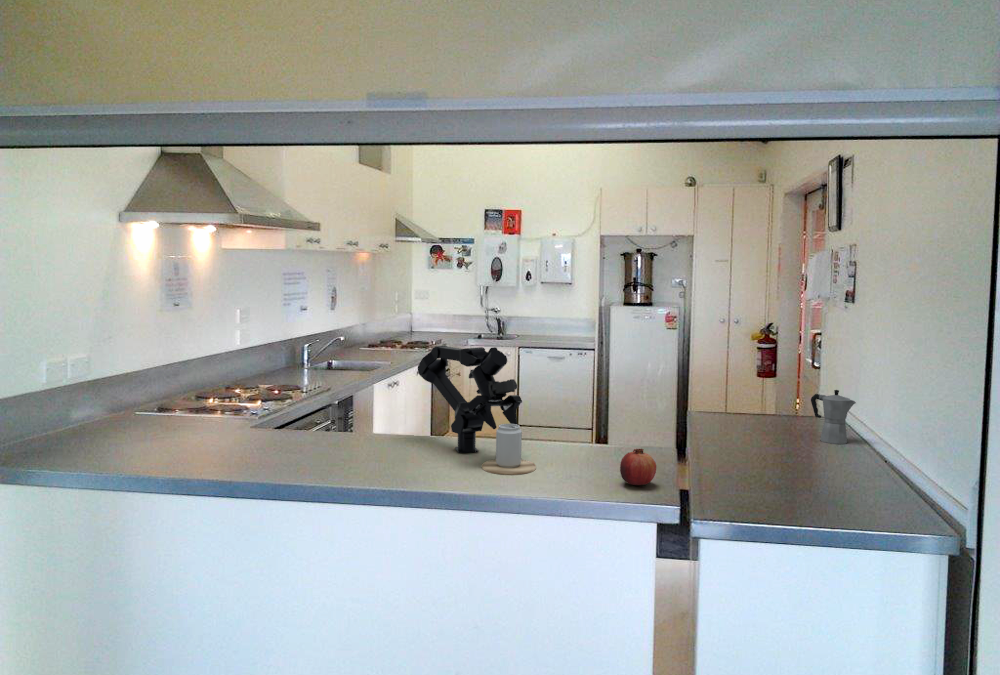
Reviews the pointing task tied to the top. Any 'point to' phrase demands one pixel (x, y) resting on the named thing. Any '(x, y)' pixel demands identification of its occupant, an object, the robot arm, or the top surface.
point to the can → (508, 445)
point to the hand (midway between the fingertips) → (505, 428)
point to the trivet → (521, 469)
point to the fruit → (637, 468)
